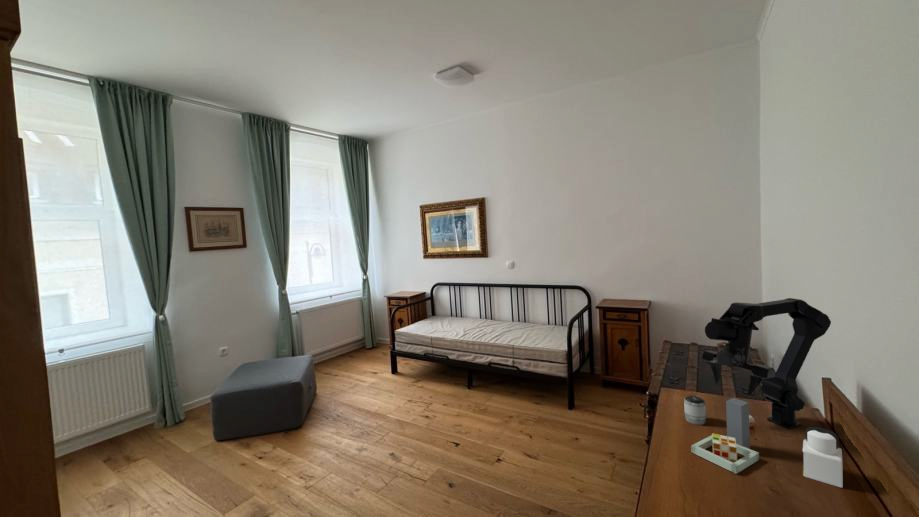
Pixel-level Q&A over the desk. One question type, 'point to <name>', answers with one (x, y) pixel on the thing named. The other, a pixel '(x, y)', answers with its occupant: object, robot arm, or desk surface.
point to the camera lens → (695, 410)
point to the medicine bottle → (822, 456)
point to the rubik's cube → (724, 447)
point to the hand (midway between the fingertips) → (732, 389)
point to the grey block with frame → (737, 429)
